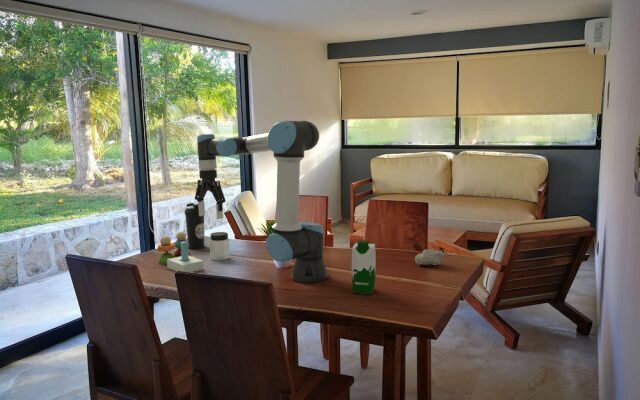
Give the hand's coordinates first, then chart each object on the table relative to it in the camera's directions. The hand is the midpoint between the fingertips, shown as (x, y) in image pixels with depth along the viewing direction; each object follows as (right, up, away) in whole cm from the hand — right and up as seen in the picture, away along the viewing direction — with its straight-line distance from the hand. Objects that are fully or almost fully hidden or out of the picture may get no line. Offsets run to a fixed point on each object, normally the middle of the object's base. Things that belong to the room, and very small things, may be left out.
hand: (210, 217), depth 230 cm
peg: (-12, -23, +1) cm, 26 cm away
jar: (+1, -20, +18) cm, 27 cm away
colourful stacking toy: (-18, -21, +17) cm, 33 cm away
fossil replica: (+97, -22, +1) cm, 100 cm away
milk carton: (+65, -28, -33) cm, 78 cm away
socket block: (-12, -23, +1) cm, 26 cm away
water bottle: (-16, -17, +41) cm, 47 cm away
